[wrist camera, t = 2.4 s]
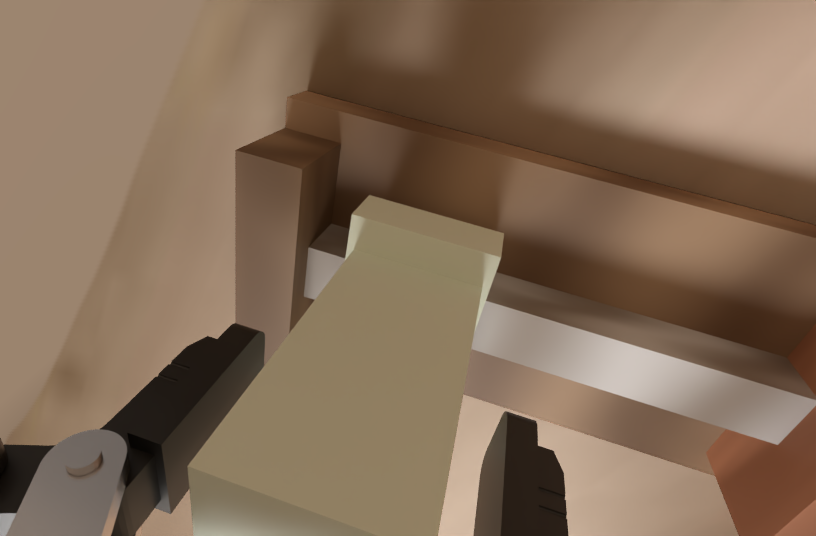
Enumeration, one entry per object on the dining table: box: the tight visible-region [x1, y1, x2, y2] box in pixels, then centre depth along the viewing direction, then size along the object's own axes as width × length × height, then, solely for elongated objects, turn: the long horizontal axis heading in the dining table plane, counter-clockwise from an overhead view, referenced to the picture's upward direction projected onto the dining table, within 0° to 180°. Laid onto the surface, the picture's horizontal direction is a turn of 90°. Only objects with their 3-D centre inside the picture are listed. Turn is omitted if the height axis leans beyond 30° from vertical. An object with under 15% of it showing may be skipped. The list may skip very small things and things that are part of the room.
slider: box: [187, 195, 504, 536], centre depth 12 cm, size 4×7×10 cm, turn 169°
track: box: [236, 91, 816, 536], centre depth 15 cm, size 20×10×6 cm, turn 78°
